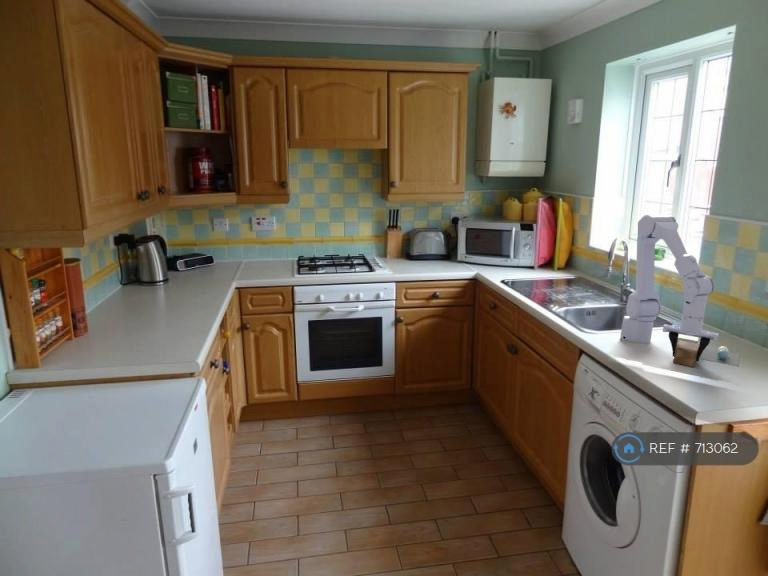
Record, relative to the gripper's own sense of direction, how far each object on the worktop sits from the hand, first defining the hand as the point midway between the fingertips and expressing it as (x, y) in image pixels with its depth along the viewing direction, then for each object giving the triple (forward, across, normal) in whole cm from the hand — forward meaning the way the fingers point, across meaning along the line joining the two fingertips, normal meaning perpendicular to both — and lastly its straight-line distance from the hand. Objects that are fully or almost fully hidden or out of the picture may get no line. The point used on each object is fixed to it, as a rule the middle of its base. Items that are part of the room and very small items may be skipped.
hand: (685, 357), depth 164 cm
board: (+2, +5, +12) cm, 13 cm away
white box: (+1, 0, +12) cm, 12 cm away
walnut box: (+1, 0, 0) cm, 1 cm away
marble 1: (+1, +10, +13) cm, 16 cm away
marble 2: (+1, +10, +10) cm, 14 cm away
